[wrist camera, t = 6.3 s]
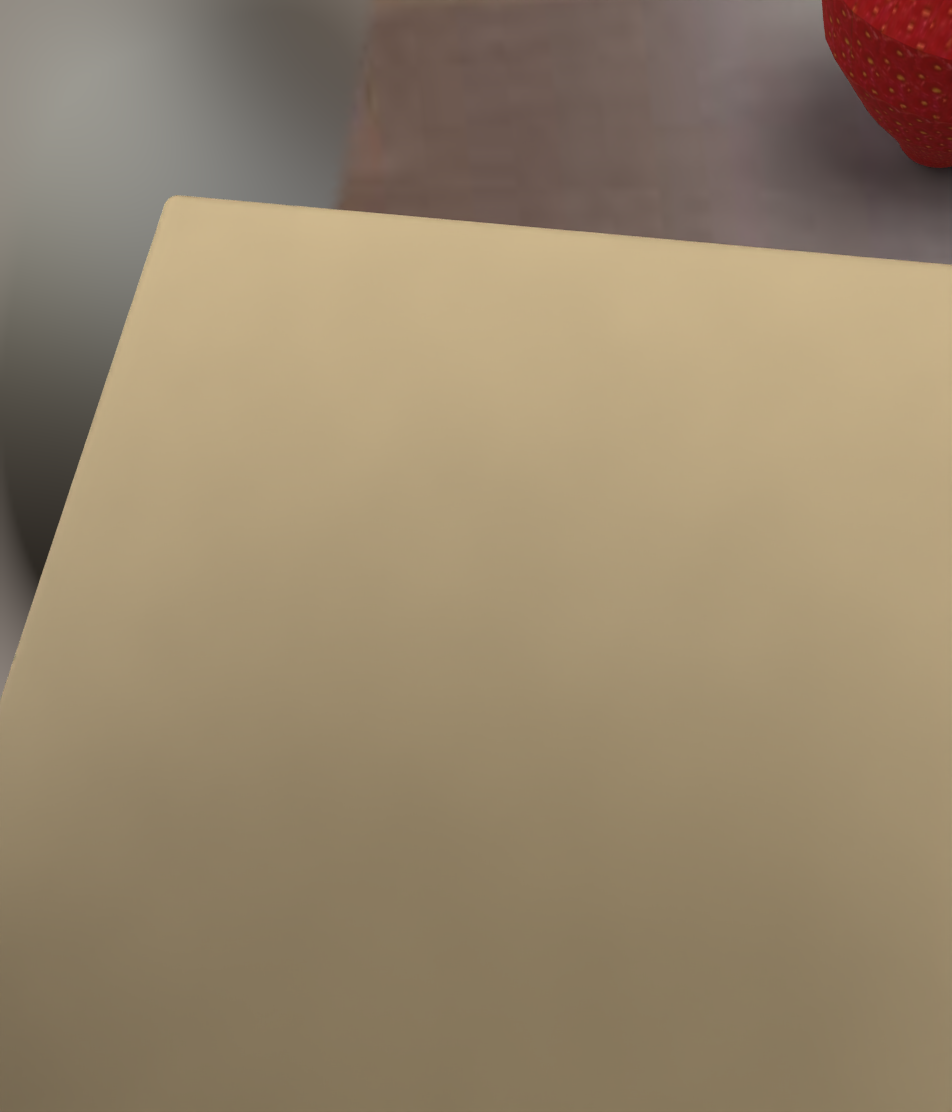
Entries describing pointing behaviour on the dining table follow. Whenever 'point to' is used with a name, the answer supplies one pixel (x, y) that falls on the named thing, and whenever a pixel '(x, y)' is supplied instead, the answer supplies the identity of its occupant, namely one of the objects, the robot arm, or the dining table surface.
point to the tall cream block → (490, 683)
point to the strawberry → (899, 68)
